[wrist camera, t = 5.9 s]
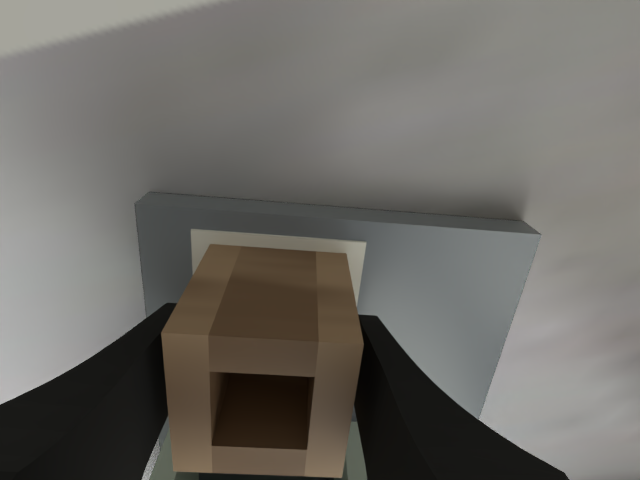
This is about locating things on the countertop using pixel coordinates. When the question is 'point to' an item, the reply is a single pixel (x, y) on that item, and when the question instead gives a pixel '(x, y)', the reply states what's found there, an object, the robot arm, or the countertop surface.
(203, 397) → the sleeve
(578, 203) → the countertop surface
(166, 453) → the block
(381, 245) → the plate
